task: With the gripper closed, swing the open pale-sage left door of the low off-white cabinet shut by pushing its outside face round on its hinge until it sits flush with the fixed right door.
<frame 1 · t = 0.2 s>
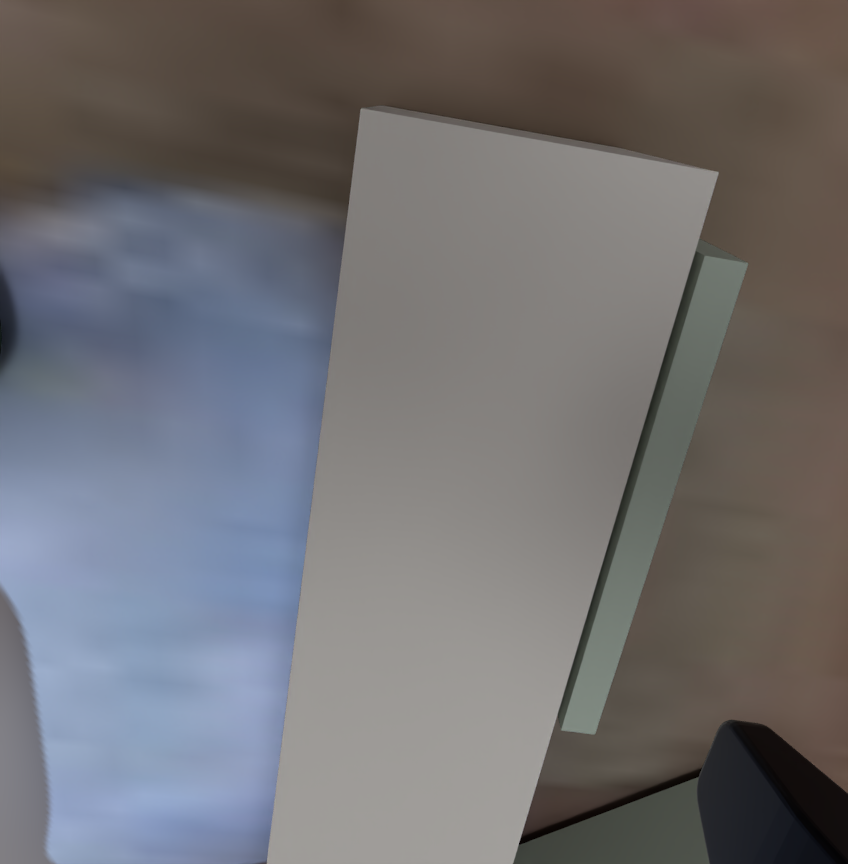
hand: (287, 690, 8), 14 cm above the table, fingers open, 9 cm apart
cabinet: (417, 571, 24), on the table
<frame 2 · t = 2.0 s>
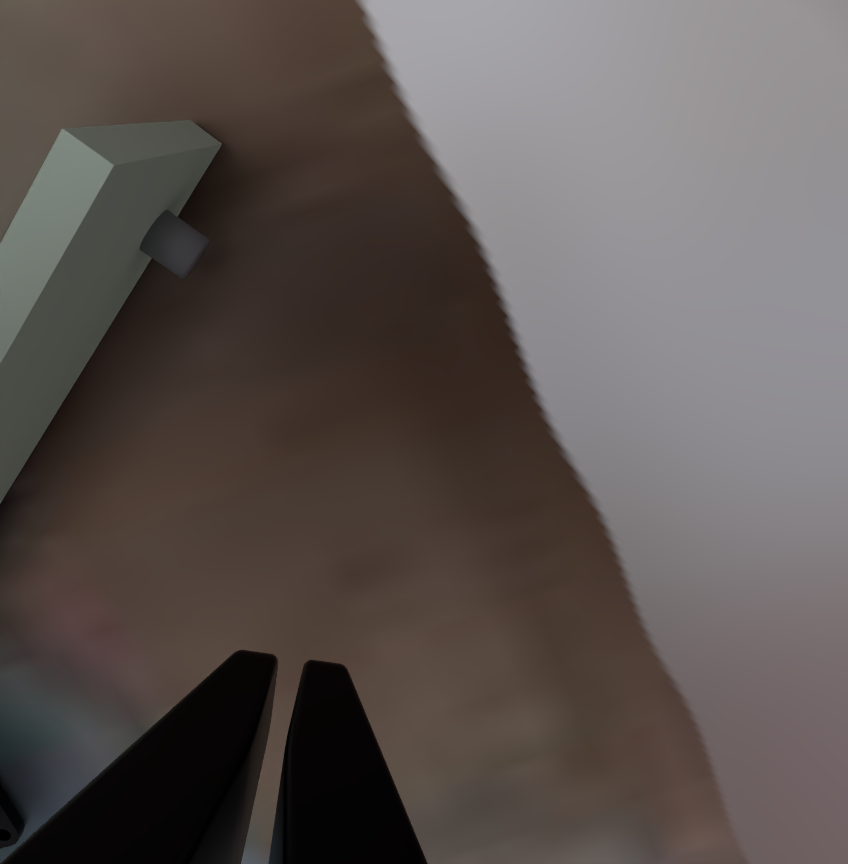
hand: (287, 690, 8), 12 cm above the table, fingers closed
door: (26, 414, 16), point 3 cm above the table, hinge at -52.0°
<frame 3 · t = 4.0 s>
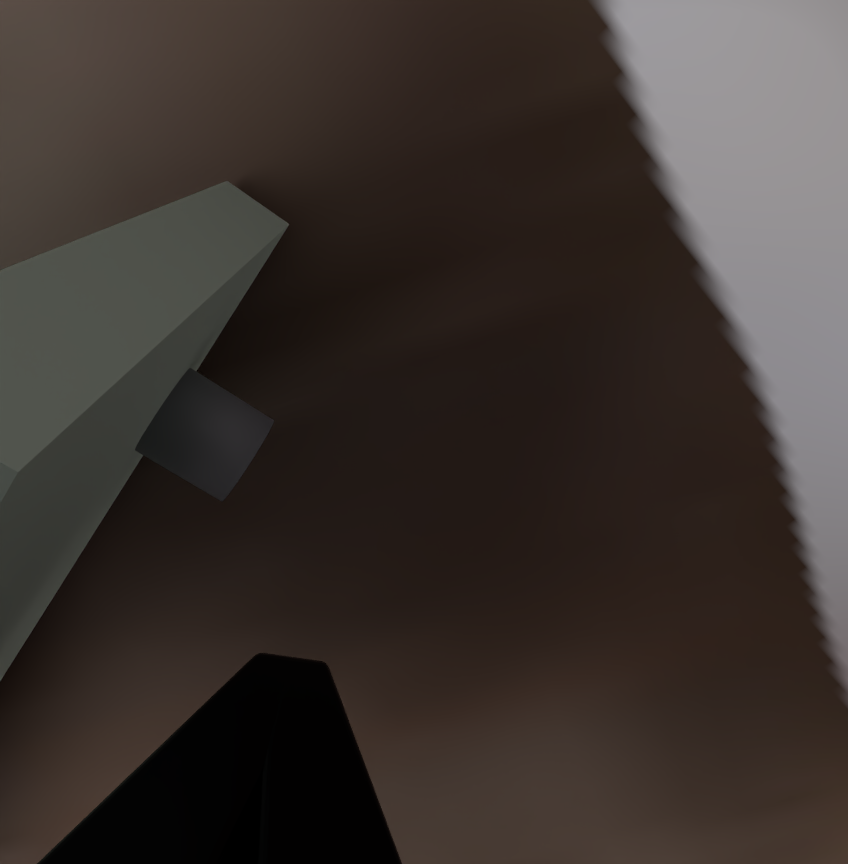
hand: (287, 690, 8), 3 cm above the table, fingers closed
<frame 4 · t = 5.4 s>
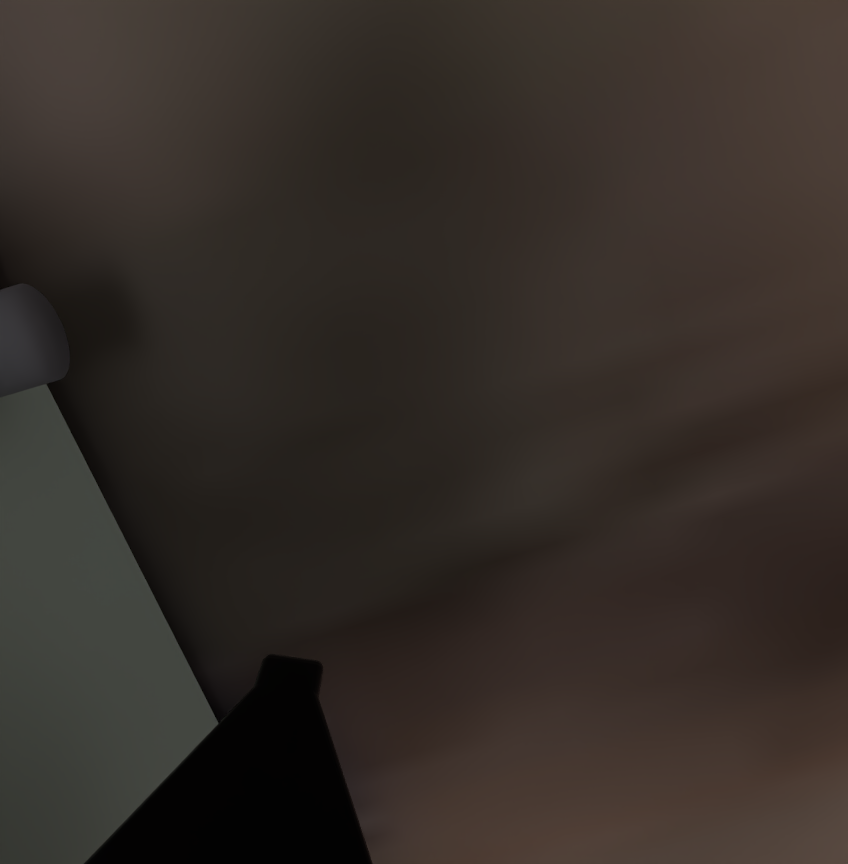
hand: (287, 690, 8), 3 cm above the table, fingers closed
door: (79, 792, 8), point 3 cm above the table, hinge at 0.8°, touching gripper
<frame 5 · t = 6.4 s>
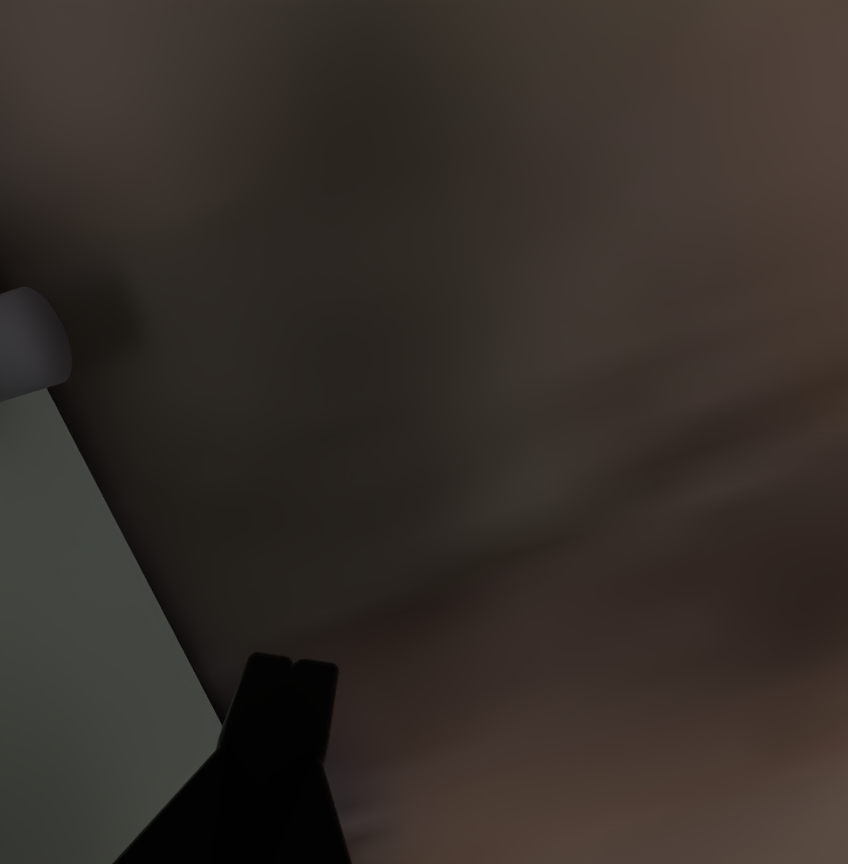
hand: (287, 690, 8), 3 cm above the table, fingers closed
door: (89, 794, 8), point 3 cm above the table, hinge at 1.2°, touching gripper
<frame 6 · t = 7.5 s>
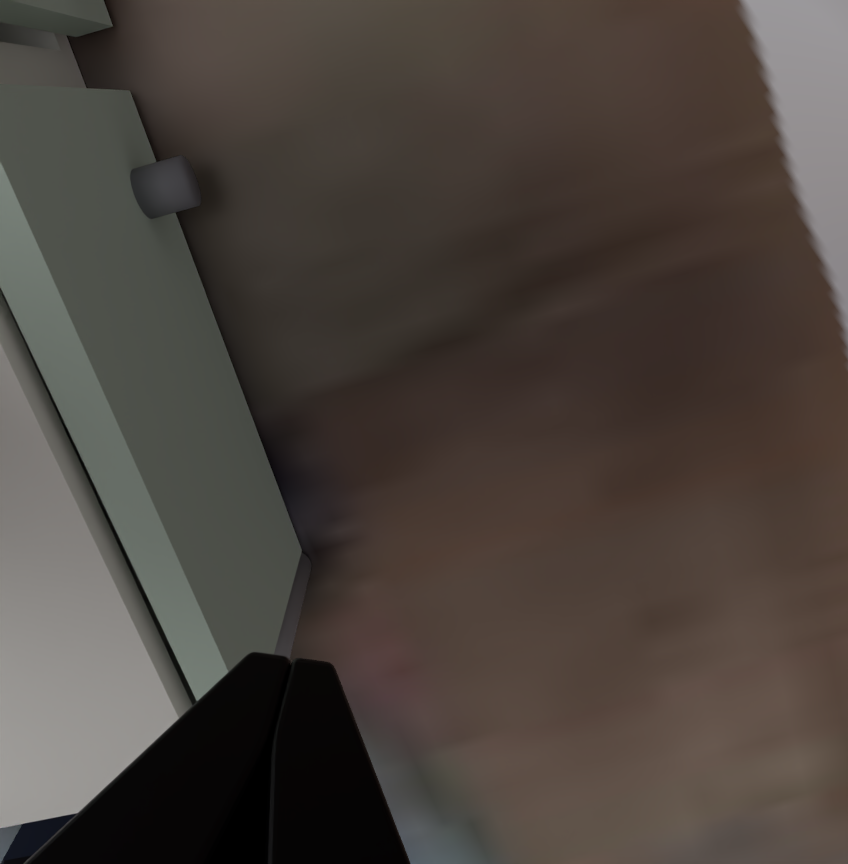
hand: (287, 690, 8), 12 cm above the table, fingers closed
door: (200, 413, 16), point 3 cm above the table, hinge at 0.6°
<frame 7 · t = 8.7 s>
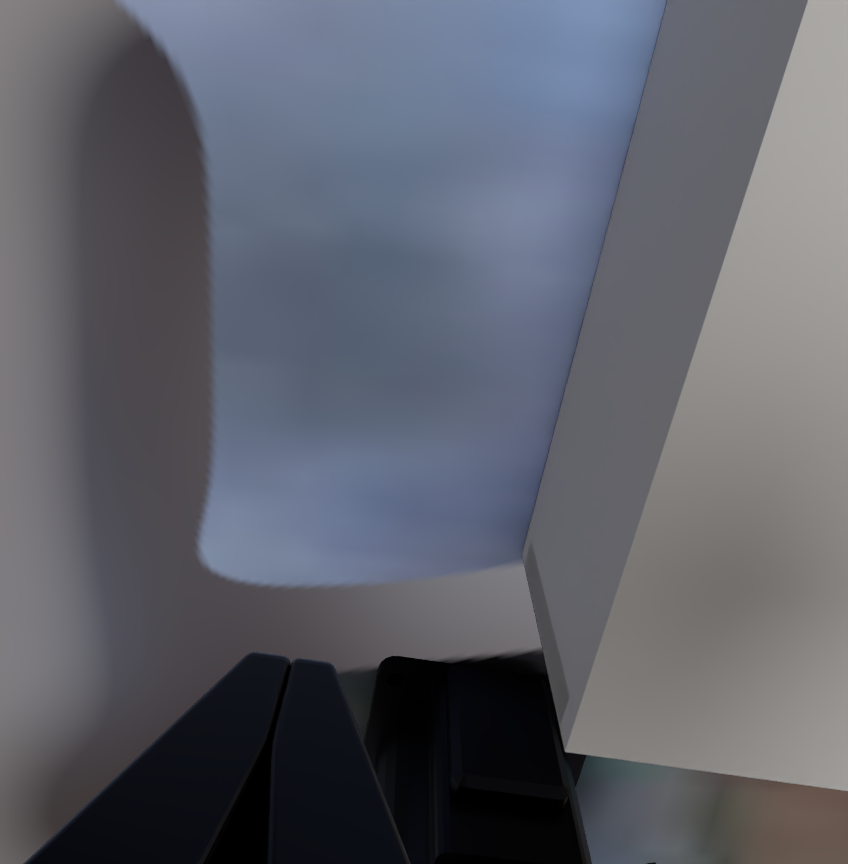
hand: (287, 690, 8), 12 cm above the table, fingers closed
cabinet: (799, 50, 16), on the table
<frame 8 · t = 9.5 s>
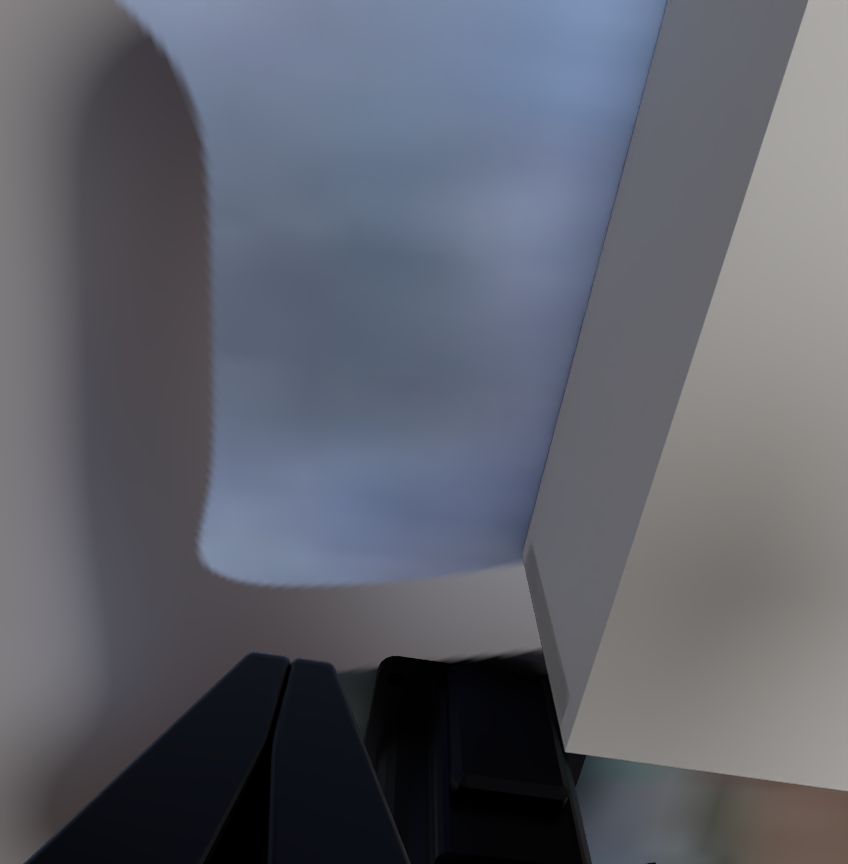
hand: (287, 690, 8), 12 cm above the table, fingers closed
cabinet: (799, 50, 16), on the table
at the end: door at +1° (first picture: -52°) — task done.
